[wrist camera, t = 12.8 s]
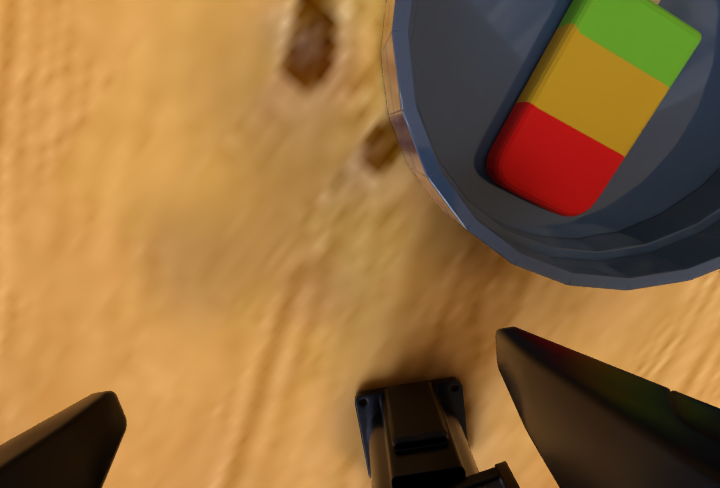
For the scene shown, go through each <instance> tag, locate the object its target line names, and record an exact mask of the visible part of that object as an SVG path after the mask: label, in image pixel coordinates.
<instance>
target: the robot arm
mask: <svg viewBox="0 0 720 488" xmlns="http://www.w3.org/2000/svg"><path fill="white" fill-rule="evenodd" d="M495 337H496V354H497V364H498V368H499V371H500V373H501V375H502V377H503V380H504V382H505V384H506V386H507V389H508V391H509V393H510V395H511V398H512V400H513V402H514V404H515V407H516V409H517V411H518V413H519V415H520V418H521V420H522V422H523V424H524V426H525V428H526V430H527V432H528V434H529V436H530V438H531V440H532V441H533V443H534V445H535V446H536V448H537V450H538V451H539V453H540V455H541V457H542V458H543V460H544V462H545V463H546V465H547V467H548V469H549V470H550V472H551V474H552V475H553V477H554V479H555V480H556V482H557V484H558V486H559V487H560V488H720V408H717V407H715V406H712V405H709V404H707V403H704V402H702V401H699V400H696V399H694V398H692V397H689V396H687V395H684V394H682V393H679V392H677V391H670V389H669V388H666V387H664V386H661V385H659V384H656V383H654V382H651V381H649V380H646V379H644V378H641V377H639V376H636V375H634V374H631V373H629V372H626V371H624V370H621V369H619V368H616V367H614V366H611V365H609V364H606V363H604V362H601V361H599V360H596V359H594V358H591V357H589V356H586V355H584V354H581V353H579V352H576V351H574V350H571V349H569V348H566V347H564V346H561V345H559V344H556V343H554V342H551V341H549V340H546V339H544V338H541V337H539V336H536V335H534V334H531V333H529V332H526V331H524V330H521V329H519V328H516V327H507V328H501V329H498V330H497V331H496V335H495ZM452 385H456V386H455V387H453V388H451V386H452ZM362 399H365V400H366V401H364V402H361V401H360V400H362ZM355 406H356V411H357V417H358V422H359V427H360V432H361V437H362V443H363V448H364V453H365V458H366V463H367V469H368V474H369V476H370V478H371V479H372V488H520V487H519V485H518V483H517V481H516V480H515V478H514V476H513V474H512V472H511V470H510V469H509V467H508V465H507V463H506V461H504V462H501V463H498V464H495V467H494V468H491V469H488V470H485V471H482V472H479V471H478V468H477V465H476V463H475V460H474V458H473V455H472V453H471V450H470V448H469V445H468V440H467V429H466V419H465V408H464V397H463V387H462V384H461V382H460V380H459V379H458V378H456V377H450V378H443V379H437V380H431V381H424V382H417V383H411V384H405V385H398V386H392V387H386V388H380V389H373V390H367V391H361V392H359V393H357V394H356V396H355ZM126 426H127V421H126V417H125V415H124V412H123V410H122V407H121V405H120V402H119V400H118V398H117V395H116V394H115V393H114V392H112V391H105V392H98V393H94V394H91V395H89V396H88V397H86V398H84V399H82V400H80V401H79V402H77V403H75V404H73V405H71V406H70V407H68V408H66V409H64V410H63V411H61V412H59V413H57V414H55V415H54V416H52V417H50V418H48V419H46V420H45V421H43V422H41V423H39V424H38V425H36V426H34V427H32V428H30V429H29V430H27V431H25V432H23V433H21V434H20V435H18V436H16V437H14V438H13V439H11V440H9V441H7V442H5V443H4V444H2V445H0V488H102V486H103V484H104V481H105V479H106V477H107V474H108V472H109V469H110V467H111V464H112V462H113V460H114V457H115V455H116V452H117V450H118V448H119V445H120V443H121V440H122V438H123V435H124V433H125V430H126Z"/></svg>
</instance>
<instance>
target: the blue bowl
mask: <svg viewBox="0 0 720 488" xmlns="http://www.w3.org/2000/svg"><path fill="white" fill-rule="evenodd" d="M572 1H573V0H386V9H385V18H384V27H383V36H382V45H381V62H382V70H383V78H384V85H385V93H386V101H387V109H388V115H389V118H390V121H391V123H392V126H393V128H394V131H395V133H396V136H397V138H398V141H399V143H400V146H401V148H402V151H403V153H404V156H405V158H406V161H407V163H408V166H409V167H410V169H411V170H412V172H413V173H414V174H415V176H416V177H417V178H418V180H419V181H420V182H421V184H422V185H423V186H424V188H425V189H426V190H427V192H428V193H429V194H430V196H431V197H432V198H433V200H434V201H435V202H436V204H437V205H438V206H439V207H440V208H441V209H442V210H443V211H444V212H445V213H446V214H448V215H449V216H450V217H451V218H453V219H454V220H455V221H456V222H457V223H459V224H460V225H461V226H462V227H464V228H465V229H466V230H467V231H469V232H470V233H471V234H473V235H474V236H475V237H477V238H478V239H479V240H481V241H482V242H483V243H485V244H486V245H487V246H489V247H490V248H491V249H493V250H494V251H495V252H497V253H498V254H499V255H501V256H502V257H503V258H505V259H506V260H507V261H509V262H510V263H511V264H513V265H515V266H518V267H520V268H523V269H526V270H528V271H531V272H534V273H536V274H539V275H542V276H544V277H547V278H550V279H552V280H555V281H558V282H560V283H563V284H566V285H571V286H582V287H593V288H605V289H616V290H633V289H639V288H646V287H652V286H658V285H665V284H671V283H677V282H684V281H688V280H692V279H695V278H697V277H700V276H703V275H705V274H708V273H710V272H713V271H715V270H718V269H720V0H660V2H659V4H658V5H659V6H660V7H662V8H663V9H665V10H666V11H668V12H669V13H671V14H672V15H674V16H676V17H677V18H679V19H680V20H682V21H683V22H685V23H686V24H688V25H690V26H691V27H693V28H694V29H696V30H697V31H699V32H700V33H701V36H702V37H701V41H700V43H699V44H698V46H697V47H696V49H695V50H694V52H693V54H692V55H691V57H690V58H689V60H688V61H687V63H686V64H685V66H684V67H683V69H682V70H681V72H680V74H679V75H678V77H677V78H676V80H675V81H674V83H673V84H672V86H671V87H670V89H669V90H668V92H667V94H666V95H665V97H664V98H663V100H662V101H661V103H660V104H659V106H658V107H657V109H656V110H655V112H654V114H653V115H652V117H651V118H650V120H649V121H648V123H647V124H646V126H645V127H644V129H643V130H642V132H641V134H640V135H639V137H638V138H637V140H636V141H635V143H634V144H633V146H632V147H631V149H630V150H629V152H628V154H627V155H626V157H625V158H624V160H623V161H622V163H621V164H620V166H619V167H618V169H617V170H616V172H615V174H614V175H613V177H612V178H611V180H610V181H609V183H608V184H607V186H606V187H605V189H604V190H603V192H602V194H601V195H600V197H599V198H598V199H597V201H596V202H595V203H594V204H593V206H592V207H591V208H590V209H588V210H587V211H586V212H585V213H583V214H580V215H577V216H574V217H571V216H561V215H558V214H555V213H552V212H550V211H547V210H545V209H543V208H541V207H539V206H537V205H535V204H533V203H531V202H529V201H527V200H525V199H523V198H521V197H519V196H517V195H515V194H513V193H511V192H509V191H507V190H505V189H503V188H502V187H500V186H499V185H497V184H496V183H494V182H493V181H492V179H491V178H490V177H489V175H488V172H487V168H486V163H487V157H488V155H489V152H490V150H491V148H492V145H493V144H494V142H495V140H496V138H497V136H498V135H499V133H500V131H501V129H502V127H503V126H504V124H505V122H506V120H507V118H508V117H509V115H510V113H511V111H512V109H513V107H514V106H515V104H516V102H517V100H518V98H519V97H520V95H521V93H522V91H523V89H524V88H525V86H526V84H527V82H528V80H529V79H530V77H531V75H532V73H533V71H534V70H535V68H536V66H537V64H538V62H539V60H540V59H541V57H542V55H543V53H544V51H545V50H546V48H547V46H548V44H549V42H550V41H551V39H552V37H553V35H554V33H555V32H556V30H557V28H558V26H559V24H560V23H561V21H562V19H563V17H564V15H565V14H566V12H567V10H568V8H569V6H570V5H571V3H572Z"/></svg>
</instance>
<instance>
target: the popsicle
mask: <svg viewBox="0 0 720 488" xmlns="http://www.w3.org/2000/svg"><path fill="white" fill-rule="evenodd" d="M659 2H660V0H573V1H572V3H571V5H570V6H569V8H568V10H567V12H566V14H565V15H564V17H563V19H562V21H561V23H560V24H559V26H558V28H557V30H556V32H555V33H554V35H553V37H552V39H551V41H550V42H549V44H548V46H547V48H546V50H545V51H544V53H543V55H542V57H541V59H540V60H539V62H538V64H537V66H536V68H535V70H534V71H533V73H532V75H531V77H530V79H529V80H528V82H527V84H526V86H525V88H524V89H523V91H522V93H521V95H520V97H519V98H518V100H517V102H516V104H515V106H514V107H513V109H512V111H511V113H510V115H509V117H508V118H507V120H506V122H505V124H504V126H503V127H502V129H501V131H500V133H499V135H498V136H497V138H496V140H495V142H494V144H493V145H492V148H491V150H490V152H489V155H488V157H487V163H486V168H487V172H488V175H489V177H490V178H491V179H492V181H493V182H494V183H496V184H497V185H499V186H500V187H502V188H503V189H505V190H507V191H509V192H511V193H513V194H515V195H517V196H519V197H521V198H523V199H525V200H527V201H529V202H531V203H533V204H535V205H537V206H539V207H541V208H543V209H545V210H547V211H550V212H552V213H555V214H558V215H561V216H571V217H574V216H577V215H580V214H583V213H585V212H586V211H587V210H588V209H590V208H591V207H592V206H593V204H594V203H595V202H596V201H597V199H598V198H599V197H600V195H601V194H602V192H603V190H604V189H605V187H606V186H607V184H608V183H609V181H610V180H611V178H612V177H613V175H614V174H615V172H616V170H617V169H618V167H619V166H620V164H621V163H622V161H623V160H624V158H625V157H626V155H627V154H628V152H629V150H630V149H631V147H632V146H633V144H634V143H635V141H636V140H637V138H638V137H639V135H640V134H641V132H642V130H643V129H644V127H645V126H646V124H647V123H648V121H649V120H650V118H651V117H652V115H653V114H654V112H655V110H656V109H657V107H658V106H659V104H660V103H661V101H662V100H663V98H664V97H665V95H666V94H667V92H668V90H669V89H670V87H671V86H672V84H673V83H674V81H675V80H676V78H677V77H678V75H679V74H680V72H681V70H682V69H683V67H684V66H685V64H686V63H687V61H688V60H689V58H690V57H691V55H692V54H693V52H694V50H695V49H696V47H697V46H698V44H699V43H700V41H701V37H702V36H701V33H700V32H699V31H697V30H696V29H694V28H693V27H691V26H690V25H688V24H686V23H685V22H683V21H682V20H680V19H679V18H677V17H676V16H674V15H672V14H671V13H669V12H668V11H666V10H665V9H663V8H662V7H660V6H659V5H658V4H659Z"/></svg>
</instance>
